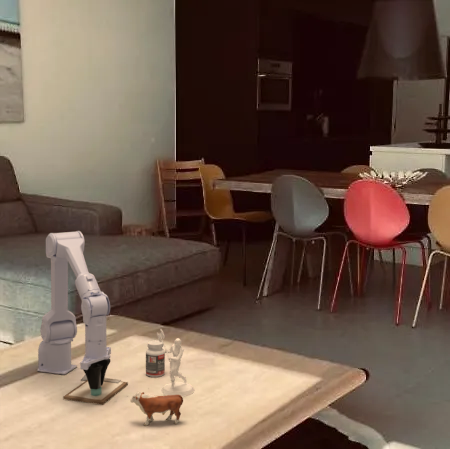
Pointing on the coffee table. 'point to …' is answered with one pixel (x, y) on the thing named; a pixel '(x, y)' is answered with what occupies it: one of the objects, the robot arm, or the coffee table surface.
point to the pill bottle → (155, 359)
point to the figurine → (175, 370)
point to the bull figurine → (158, 405)
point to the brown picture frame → (108, 391)
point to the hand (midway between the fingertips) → (96, 386)
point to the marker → (99, 390)
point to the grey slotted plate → (84, 378)
